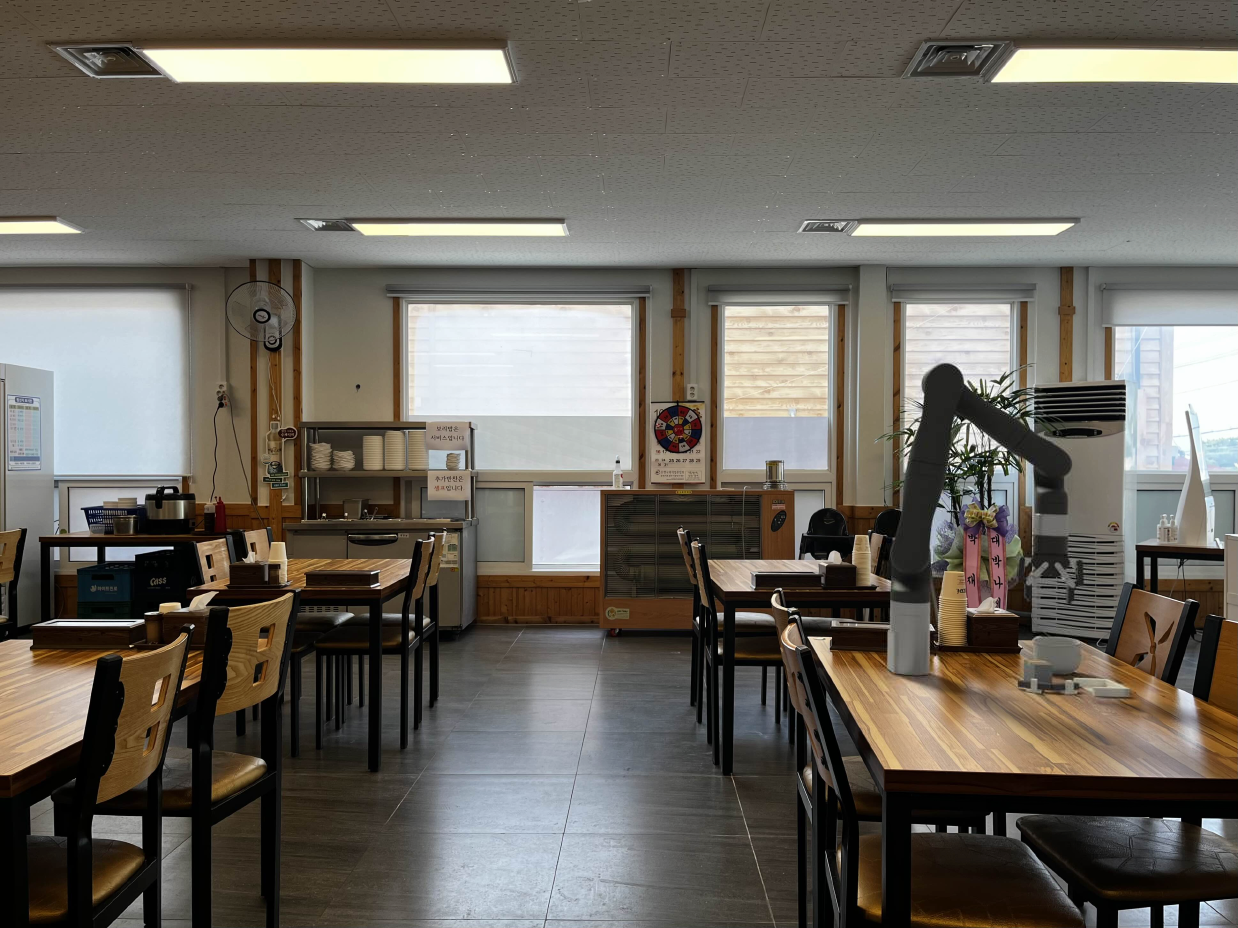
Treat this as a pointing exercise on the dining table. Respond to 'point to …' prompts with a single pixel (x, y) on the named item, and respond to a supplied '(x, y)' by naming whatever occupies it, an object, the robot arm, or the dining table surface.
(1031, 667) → the connector
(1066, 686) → the clips
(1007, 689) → the dining table surface
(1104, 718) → the dining table surface
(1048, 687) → the cable run
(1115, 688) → the end holder
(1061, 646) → the teacup
